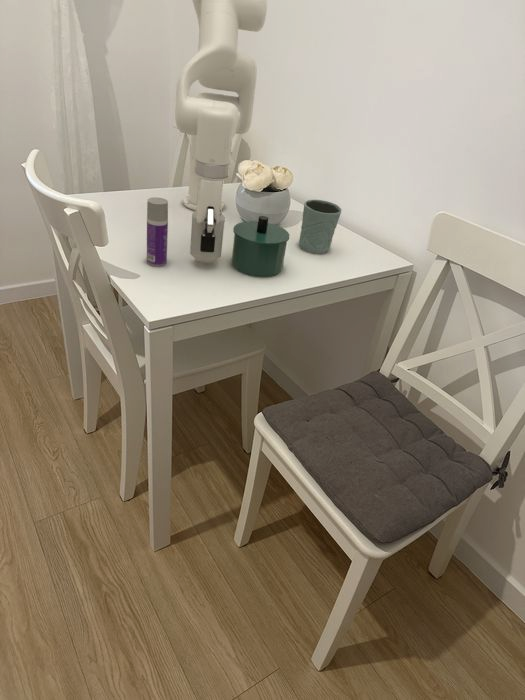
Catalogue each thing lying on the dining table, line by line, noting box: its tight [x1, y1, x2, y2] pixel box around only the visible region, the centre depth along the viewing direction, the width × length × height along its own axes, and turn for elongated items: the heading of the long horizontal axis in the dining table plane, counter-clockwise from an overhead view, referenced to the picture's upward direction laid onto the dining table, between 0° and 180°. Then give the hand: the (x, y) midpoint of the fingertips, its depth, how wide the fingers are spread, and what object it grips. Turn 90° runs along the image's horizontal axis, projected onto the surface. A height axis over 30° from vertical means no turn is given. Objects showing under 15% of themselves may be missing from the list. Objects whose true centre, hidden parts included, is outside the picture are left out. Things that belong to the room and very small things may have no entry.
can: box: [189, 207, 226, 263], centre depth 120 cm, size 8×8×12 cm
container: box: [146, 196, 169, 268], centre depth 117 cm, size 5×5×15 cm
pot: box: [231, 233, 288, 278], centre depth 125 cm, size 13×13×8 cm
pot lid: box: [232, 215, 290, 245], centre depth 122 cm, size 14×14×5 cm
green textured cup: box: [298, 199, 342, 255], centre depth 138 cm, size 10×10×12 cm
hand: (206, 243), depth 121 cm, fingers closed on can, 7 cm apart
